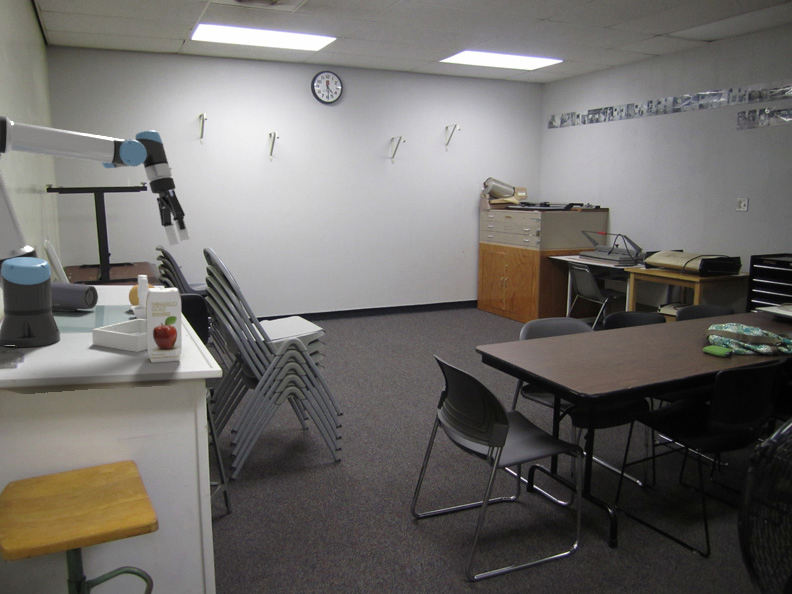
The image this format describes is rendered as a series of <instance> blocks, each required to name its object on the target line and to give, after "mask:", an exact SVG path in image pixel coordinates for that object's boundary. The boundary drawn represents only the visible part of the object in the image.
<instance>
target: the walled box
mask: <svg viewBox="0 0 792 594" xmlns="http://www.w3.org/2000/svg"><path fill="white" fill-rule="evenodd" d="M91 330H92V333H91V334H92V345H94V346H98V347H106V348H112V349H118V350H122V351H129V352H134V353H135V352H136V353H139V352H142V351H145V350H147V330H146V319H137V318H136V319H131V320H126V321H123V322H119V323H113V324H110V325H105V326H100V327H97V328H92V329H91Z"/></svg>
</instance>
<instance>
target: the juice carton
mask: <svg viewBox="0 0 792 594" xmlns="http://www.w3.org/2000/svg"><path fill="white" fill-rule="evenodd" d="M146 330H147V349H146V350H147V353H148V354H147V355H148V357H149V360H150V362H151V363H166V362H167V363H168V362H179V361H180V358H181V354H182V346H183V344H182V341H183V340H182V339H183V338H182V336H183V335H182V333H183V332H182V297H181V292H180V291H179V288H177V287H167V288H158V287H157V288H156V287H155V288H149V289H148V291H147V296H146Z"/></svg>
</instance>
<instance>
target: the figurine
mask: <svg viewBox="0 0 792 594" xmlns="http://www.w3.org/2000/svg"><path fill="white" fill-rule="evenodd" d="M137 283H138V288H137V290H138V298H139V306H132V305H130V308H131V309H132V311H133V314H134V316H135V318H136V319H146V296H147V291H148V284H149V279H148V275H145V274H138V275H137Z"/></svg>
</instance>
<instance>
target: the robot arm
mask: <svg viewBox="0 0 792 594" xmlns="http://www.w3.org/2000/svg"><path fill="white" fill-rule="evenodd" d="M134 137H135V139H123V138H115V137H111V136H110V137H109V136H105V135H104V136H103V135H97V134H92V133H86V132H77V131H73V130H64V129H59V128H54V127H47V126H42V125H41V126H40V125H34V124H27V123H21V122H15V121H11V119H10V118H8V116H3V115H0V160H1V159H2V158H3V156H2V154H8V153H9V152H11V151H13V152H21V153H29V154H35V155H36V154H37V155H45V156H52V157H59V158H66V159H75V160H83V161H90V162H97V163H101V165H102V166H103V167H104V168H105V169H116V168H122V167H138V166H140V165H142V164H143V168H144V170H145V175H146V177H147V180H148V181H149V186H150V190H151V193H152V194H155V195H156V194H158V195H159V196H158V197H156V201H157V205H158V210H159V216H160V223H161V226H162V227H163V228H164V230H165V233H166V236H167V237H166V238H167V240H168V243H169V246H175V245H178V244H179V240H180V242H183V241H187V240H188V241H189V240H190V236H189V233H188V230H187V226H186V223H185V218H184V217H185V215H186V214H185V212H184V210H183V207H182V205H181V203H180V201H179V199H178V197H177V194H176V192H175V189H176V184H175V181H174V178H173V177H172V176H173V175H172V172H171V171H172V167H170V165H169V161H168V158H167V154H166V151H165V147H164V142H163V141H162V138H161V135H160V133H159V132H158V131H157V130H144V131H140V132H138V133H136V134H135V136H134ZM1 171H2V170H0V288H1V290H2V299H3V300H2V301H3V318H2V322H1V325H0V346H2V347H5V346H4V345H15V346H17V347H16V348H33V347H41V346H47V345H51V344H54V343H57V342H59V341H60V340H61V332H60V329H59V328H58V325H57V322H56V320H55V318H54V315H53V310H52V301H51V282H52V281H51V280H52V279H51V276H52V275H51V274H52V270H51V267H50V263H49V262H48V261H47V260H46V259H43V258H39V256H38V255H37V251H36V249H35V247H33V246H31V245H28V243H27V241H26V238H25V235H24V233H23V232H24V231H23V230H22V227H21V224H20V221H19V219H18V216H17V213H16V210H15V207H14V204H13V202H12V200H11V197H10V194H9V190H8V188H7V185H6V183H5V180H4V177H3V174H2V172H1ZM172 216H173V222H172ZM174 226H175V227H176V230H177V233H178V236H179V240H178V236H177V234H176V231H175V228H174Z"/></svg>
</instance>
